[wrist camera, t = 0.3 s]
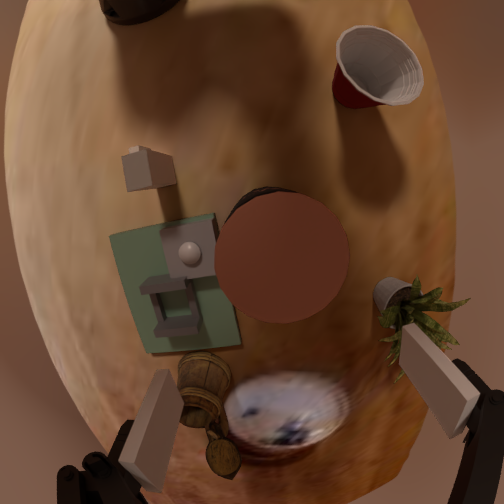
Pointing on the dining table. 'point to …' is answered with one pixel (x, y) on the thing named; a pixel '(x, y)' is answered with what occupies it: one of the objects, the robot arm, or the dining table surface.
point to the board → (175, 285)
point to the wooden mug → (208, 408)
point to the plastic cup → (375, 69)
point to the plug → (147, 169)
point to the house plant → (411, 312)
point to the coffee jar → (281, 255)
